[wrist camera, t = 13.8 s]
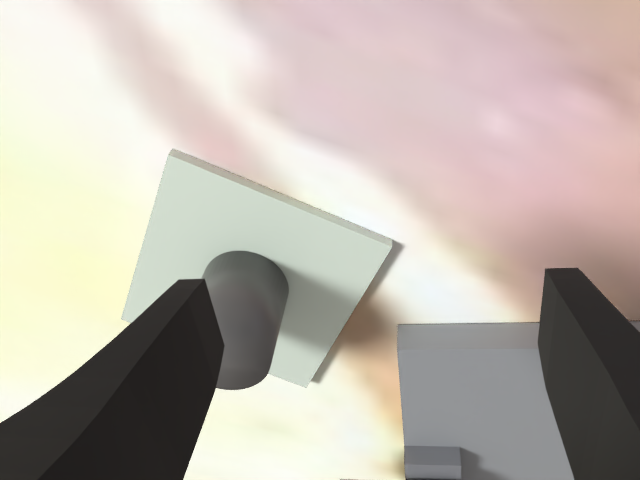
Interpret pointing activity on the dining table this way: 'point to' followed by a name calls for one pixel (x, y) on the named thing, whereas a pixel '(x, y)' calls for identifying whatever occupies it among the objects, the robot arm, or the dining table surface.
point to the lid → (255, 268)
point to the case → (477, 404)
